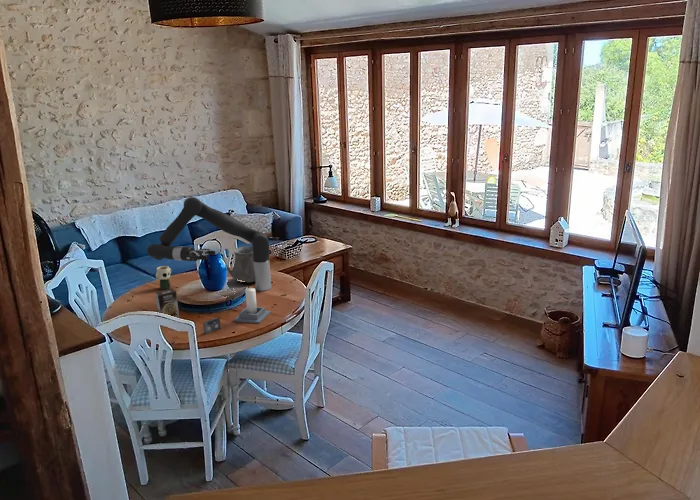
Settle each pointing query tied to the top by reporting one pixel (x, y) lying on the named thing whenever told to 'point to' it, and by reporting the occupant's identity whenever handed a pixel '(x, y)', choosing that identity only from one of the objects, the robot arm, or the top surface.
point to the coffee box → (167, 302)
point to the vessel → (243, 264)
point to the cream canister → (251, 301)
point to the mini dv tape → (211, 325)
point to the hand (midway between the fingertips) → (211, 255)
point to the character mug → (163, 276)
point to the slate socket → (252, 316)
